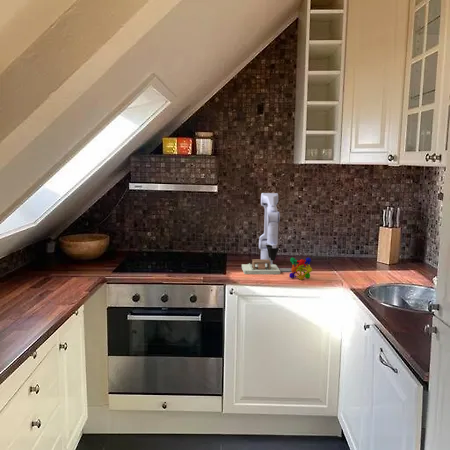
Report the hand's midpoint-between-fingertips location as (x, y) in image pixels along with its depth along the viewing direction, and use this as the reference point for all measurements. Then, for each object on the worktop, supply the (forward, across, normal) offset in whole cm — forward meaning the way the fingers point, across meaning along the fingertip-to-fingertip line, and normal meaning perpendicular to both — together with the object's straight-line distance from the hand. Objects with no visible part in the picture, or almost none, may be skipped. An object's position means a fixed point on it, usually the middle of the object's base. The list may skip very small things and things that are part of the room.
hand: (271, 258), depth 260 cm
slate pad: (+9, -12, +11) cm, 19 cm away
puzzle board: (+9, -12, -4) cm, 15 cm away
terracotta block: (+10, -10, -4) cm, 14 cm away
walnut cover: (+7, -10, -4) cm, 13 cm away
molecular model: (+10, +6, +15) cm, 19 cm away
